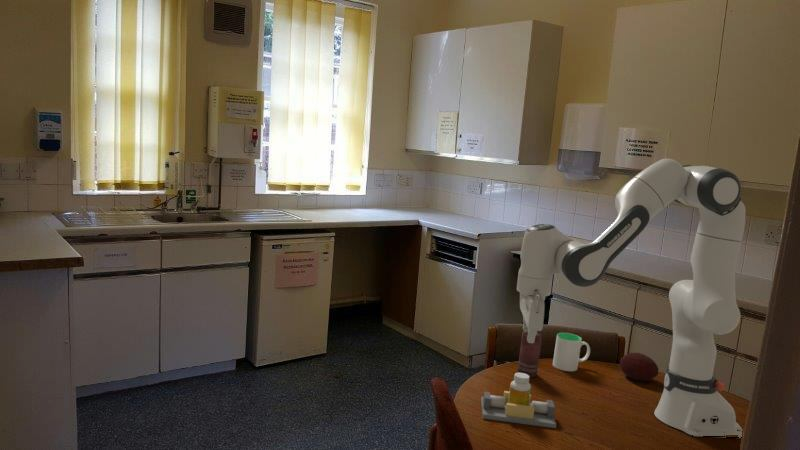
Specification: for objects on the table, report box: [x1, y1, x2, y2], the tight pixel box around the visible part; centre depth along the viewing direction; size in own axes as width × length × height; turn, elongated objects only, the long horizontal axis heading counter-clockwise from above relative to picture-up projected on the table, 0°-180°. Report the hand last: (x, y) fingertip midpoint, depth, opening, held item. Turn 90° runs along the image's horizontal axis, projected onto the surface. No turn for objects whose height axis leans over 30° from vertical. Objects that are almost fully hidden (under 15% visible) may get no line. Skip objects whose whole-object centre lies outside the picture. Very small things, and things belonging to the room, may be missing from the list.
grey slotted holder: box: [480, 390, 557, 429], centre depth 164 cm, size 19×11×4 cm, turn 85°
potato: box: [619, 352, 659, 381], centre depth 199 cm, size 12×11×8 cm
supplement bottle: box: [508, 372, 532, 406], centre depth 164 cm, size 5×5×10 cm
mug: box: [552, 332, 591, 372], centre depth 204 cm, size 12×8×10 cm, turn 102°
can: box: [517, 330, 543, 379], centre depth 193 cm, size 6×6×14 cm
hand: (528, 336), depth 161 cm, fingers open, 8 cm apart
